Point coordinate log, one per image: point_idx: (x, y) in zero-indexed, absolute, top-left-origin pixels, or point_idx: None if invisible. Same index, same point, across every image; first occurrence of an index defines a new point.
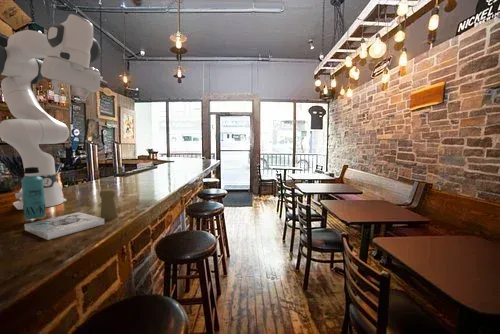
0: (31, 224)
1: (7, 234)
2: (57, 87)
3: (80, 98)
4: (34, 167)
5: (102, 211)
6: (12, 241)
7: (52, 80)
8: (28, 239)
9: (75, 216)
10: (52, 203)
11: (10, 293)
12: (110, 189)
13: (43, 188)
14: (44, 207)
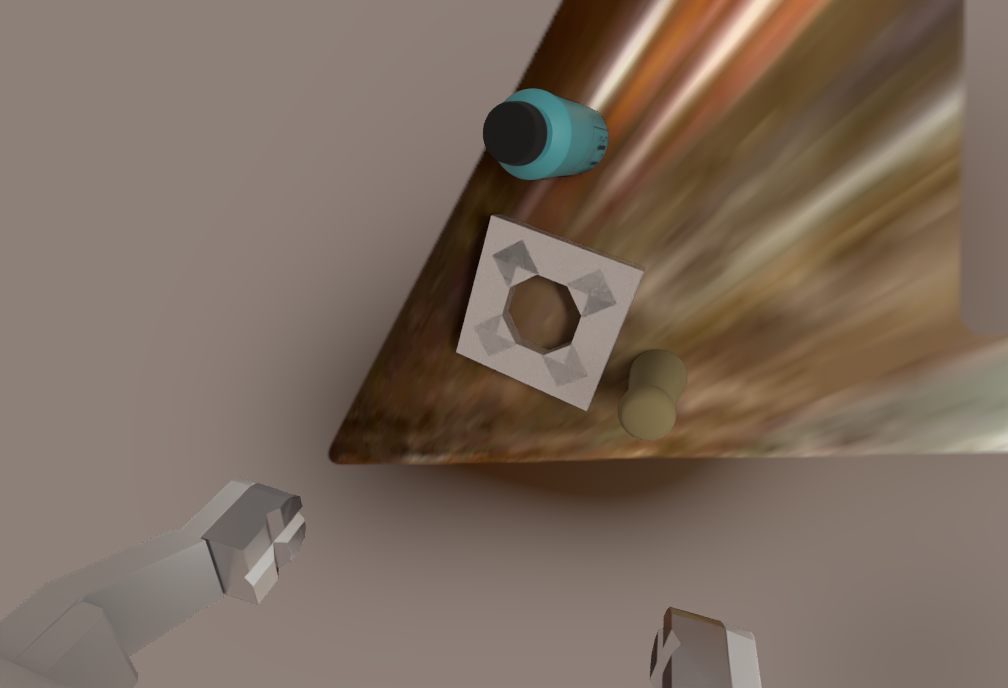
0: (495, 239)
1: (464, 199)
2: (185, 601)
3: (664, 644)
4: (510, 153)
5: (629, 379)
6: (436, 269)
7: (9, 639)
8: (455, 295)
9: (590, 304)
10: None
11: (333, 451)
12: (645, 433)
13: (568, 166)
14: (580, 173)
